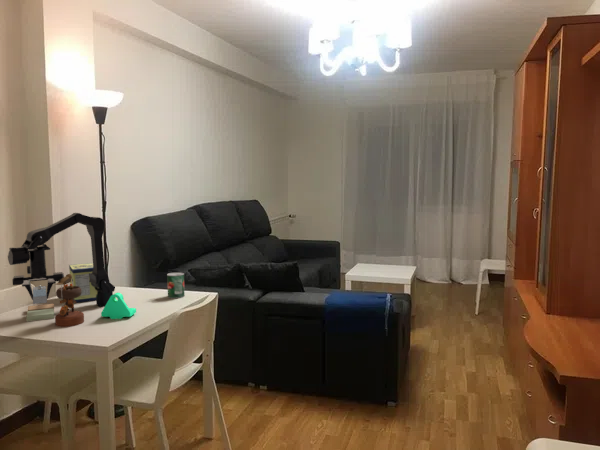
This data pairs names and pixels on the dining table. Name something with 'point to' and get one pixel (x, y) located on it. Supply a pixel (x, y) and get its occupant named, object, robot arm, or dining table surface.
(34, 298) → the housing
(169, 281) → the canned tomato
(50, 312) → the green stand
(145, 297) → the dining table surface
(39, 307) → the walnut stand
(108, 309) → the camera mount
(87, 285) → the protein box
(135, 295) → the dining table surface
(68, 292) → the brown bird figurine
